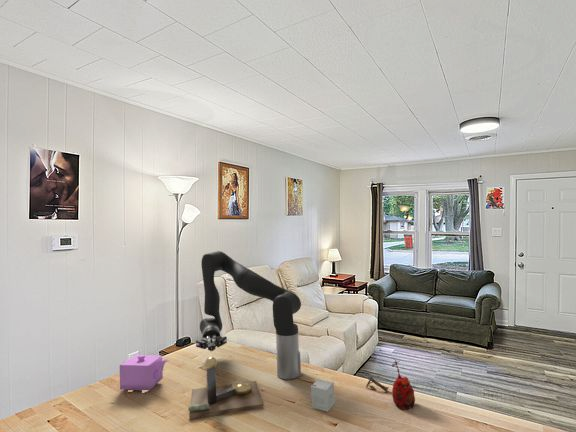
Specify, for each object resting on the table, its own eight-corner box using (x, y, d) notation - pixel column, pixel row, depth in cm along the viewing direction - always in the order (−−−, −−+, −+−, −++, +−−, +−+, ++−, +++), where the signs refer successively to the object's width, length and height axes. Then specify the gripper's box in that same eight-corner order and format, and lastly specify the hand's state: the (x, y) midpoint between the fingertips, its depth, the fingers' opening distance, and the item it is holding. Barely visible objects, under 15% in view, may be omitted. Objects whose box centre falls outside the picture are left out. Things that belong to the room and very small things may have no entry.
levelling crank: (245, 384, 131) (244, 343, 132) (255, 391, 126) (254, 348, 126) (202, 400, 120) (201, 356, 121) (211, 408, 115) (210, 361, 115)
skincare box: (335, 403, 119) (334, 382, 119) (327, 412, 113) (326, 389, 113) (318, 399, 122) (318, 378, 122) (311, 408, 116) (310, 385, 117)
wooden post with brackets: (364, 384, 130) (368, 373, 130) (384, 396, 127) (389, 386, 126) (363, 386, 129) (367, 375, 128) (383, 399, 125) (388, 388, 125)
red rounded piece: (406, 413, 111) (404, 366, 112) (387, 405, 117) (386, 360, 117) (419, 404, 116) (417, 359, 116) (400, 397, 121) (398, 354, 122)
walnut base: (256, 384, 135) (255, 376, 135) (263, 408, 117) (262, 398, 117) (191, 393, 129) (190, 384, 129) (188, 419, 112) (187, 409, 112)
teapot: (114, 393, 131) (113, 360, 132) (129, 381, 141) (129, 350, 142) (163, 395, 129) (162, 361, 129) (175, 382, 139) (175, 351, 139)
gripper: (195, 328, 148) (193, 341, 132) (226, 325, 151) (228, 336, 135) (196, 346, 148) (194, 361, 131) (227, 342, 151) (229, 356, 134)
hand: (211, 348), depth 133 cm, fingers closed
